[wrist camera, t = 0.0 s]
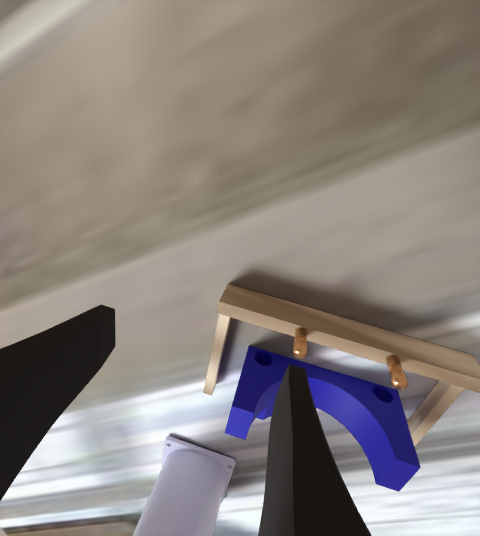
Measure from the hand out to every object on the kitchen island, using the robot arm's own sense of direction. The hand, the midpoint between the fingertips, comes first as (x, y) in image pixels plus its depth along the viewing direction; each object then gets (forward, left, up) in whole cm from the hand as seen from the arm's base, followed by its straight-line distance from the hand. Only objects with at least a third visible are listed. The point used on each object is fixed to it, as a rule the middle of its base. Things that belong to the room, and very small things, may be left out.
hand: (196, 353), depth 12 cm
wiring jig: (-7, -8, -10) cm, 15 cm away
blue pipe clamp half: (-10, -8, -10) cm, 17 cm away
